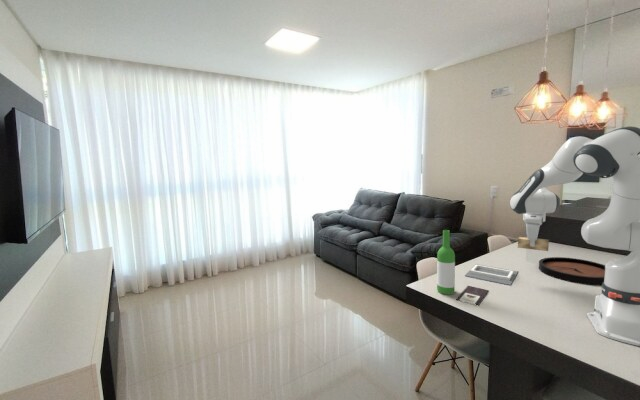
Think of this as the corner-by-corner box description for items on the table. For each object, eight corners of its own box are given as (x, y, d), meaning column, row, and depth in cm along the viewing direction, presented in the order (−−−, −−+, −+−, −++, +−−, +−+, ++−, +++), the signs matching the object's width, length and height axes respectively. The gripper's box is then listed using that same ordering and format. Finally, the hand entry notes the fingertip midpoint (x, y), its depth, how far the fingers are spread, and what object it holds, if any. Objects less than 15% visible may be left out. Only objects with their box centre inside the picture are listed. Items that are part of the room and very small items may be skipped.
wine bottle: (434, 288, 146) (434, 229, 142) (449, 287, 146) (450, 228, 143) (441, 295, 138) (442, 232, 134) (457, 294, 139) (458, 231, 135)
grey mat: (510, 285, 146) (510, 281, 146) (464, 276, 160) (464, 272, 159) (517, 272, 162) (518, 268, 162) (475, 264, 176) (475, 261, 176)
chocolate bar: (488, 290, 141) (478, 304, 127) (488, 292, 141) (478, 306, 128) (468, 285, 147) (456, 298, 133) (468, 287, 147) (456, 300, 134)
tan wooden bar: (517, 247, 147) (518, 238, 146) (518, 245, 150) (518, 236, 150) (548, 251, 140) (548, 241, 139) (548, 248, 143) (548, 239, 143)
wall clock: (628, 269, 150) (600, 282, 136) (628, 277, 151) (599, 291, 137) (556, 253, 178) (526, 263, 164) (556, 260, 179) (526, 270, 164)
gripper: (527, 213, 153) (526, 239, 155) (524, 219, 137) (523, 248, 139) (543, 214, 149) (541, 241, 151) (541, 220, 134) (539, 250, 135)
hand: (532, 244), depth 145 cm, fingers closed on tan wooden bar, 4 cm apart
